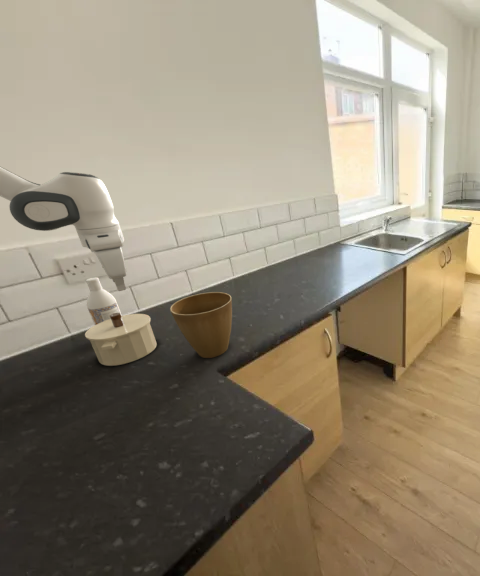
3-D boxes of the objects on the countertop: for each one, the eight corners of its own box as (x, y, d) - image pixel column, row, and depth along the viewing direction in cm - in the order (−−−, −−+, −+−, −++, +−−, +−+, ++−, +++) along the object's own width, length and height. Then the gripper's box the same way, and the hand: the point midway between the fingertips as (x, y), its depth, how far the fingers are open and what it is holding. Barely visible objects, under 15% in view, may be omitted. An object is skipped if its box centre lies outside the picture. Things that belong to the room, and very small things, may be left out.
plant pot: (183, 372, 84) (165, 319, 78) (188, 345, 97) (173, 297, 91) (243, 357, 90) (231, 306, 84) (241, 333, 102) (230, 288, 96)
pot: (85, 376, 83) (72, 349, 80) (115, 341, 100) (105, 317, 97) (145, 365, 88) (136, 338, 84) (164, 333, 104) (157, 309, 101)
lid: (75, 347, 82) (67, 331, 80) (100, 322, 95) (95, 308, 93) (142, 336, 87) (136, 321, 85) (157, 313, 100) (153, 300, 98)
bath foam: (102, 335, 104) (78, 278, 96) (128, 329, 107) (107, 273, 100) (100, 344, 98) (74, 284, 91) (128, 337, 102) (105, 279, 94)
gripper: (83, 233, 89) (101, 279, 94) (89, 245, 75) (109, 298, 80) (112, 230, 93) (127, 274, 98) (122, 240, 79) (139, 291, 85)
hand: (119, 285), depth 89 cm, fingers open, 8 cm apart
